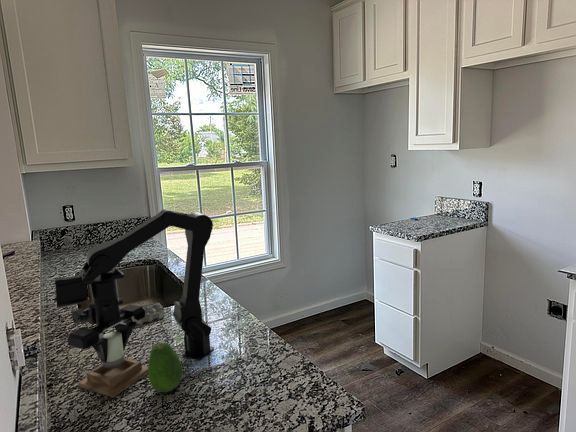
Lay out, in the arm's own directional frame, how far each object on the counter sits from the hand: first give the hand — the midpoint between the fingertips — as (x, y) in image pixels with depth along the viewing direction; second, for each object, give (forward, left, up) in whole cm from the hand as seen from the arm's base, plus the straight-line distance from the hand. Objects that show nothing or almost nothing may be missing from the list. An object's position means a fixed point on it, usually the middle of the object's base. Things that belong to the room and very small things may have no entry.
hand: (113, 356), depth 99 cm
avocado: (-16, -1, -6) cm, 17 cm away
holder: (0, 0, -6) cm, 6 cm away
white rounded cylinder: (0, 0, -2) cm, 2 cm away
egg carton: (+19, -31, -6) cm, 37 cm away
